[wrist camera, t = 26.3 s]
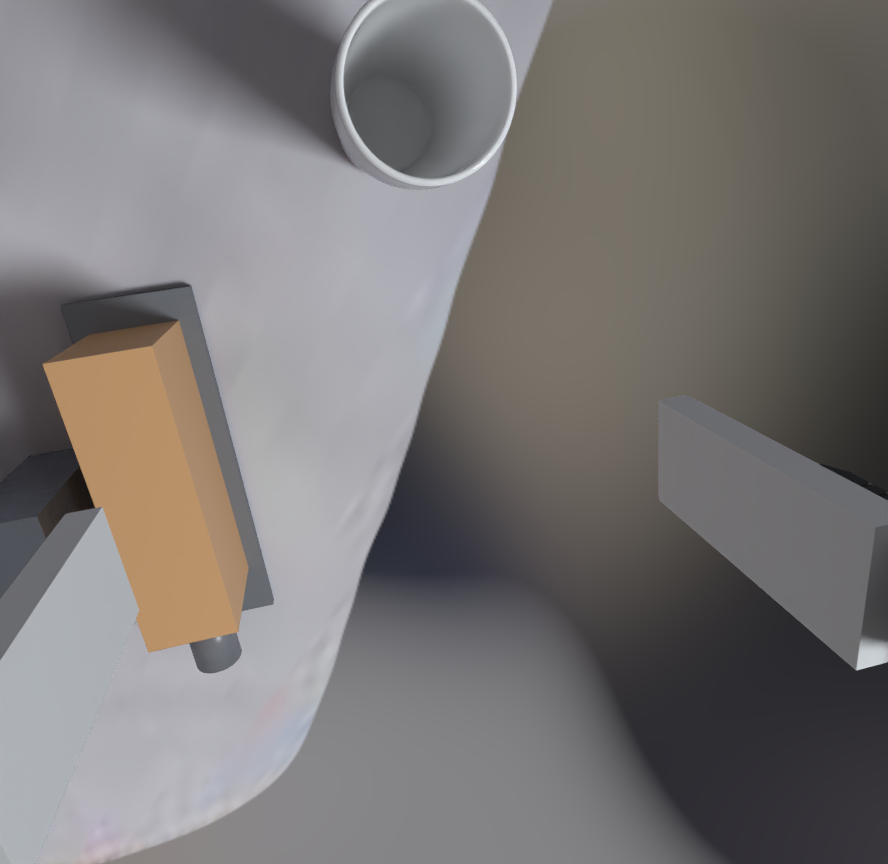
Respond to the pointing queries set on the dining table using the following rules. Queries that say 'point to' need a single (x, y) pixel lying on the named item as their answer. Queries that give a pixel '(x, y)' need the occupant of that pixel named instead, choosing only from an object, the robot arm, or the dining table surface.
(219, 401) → the mat
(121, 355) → the plug
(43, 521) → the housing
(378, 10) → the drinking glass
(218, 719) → the dining table surface
